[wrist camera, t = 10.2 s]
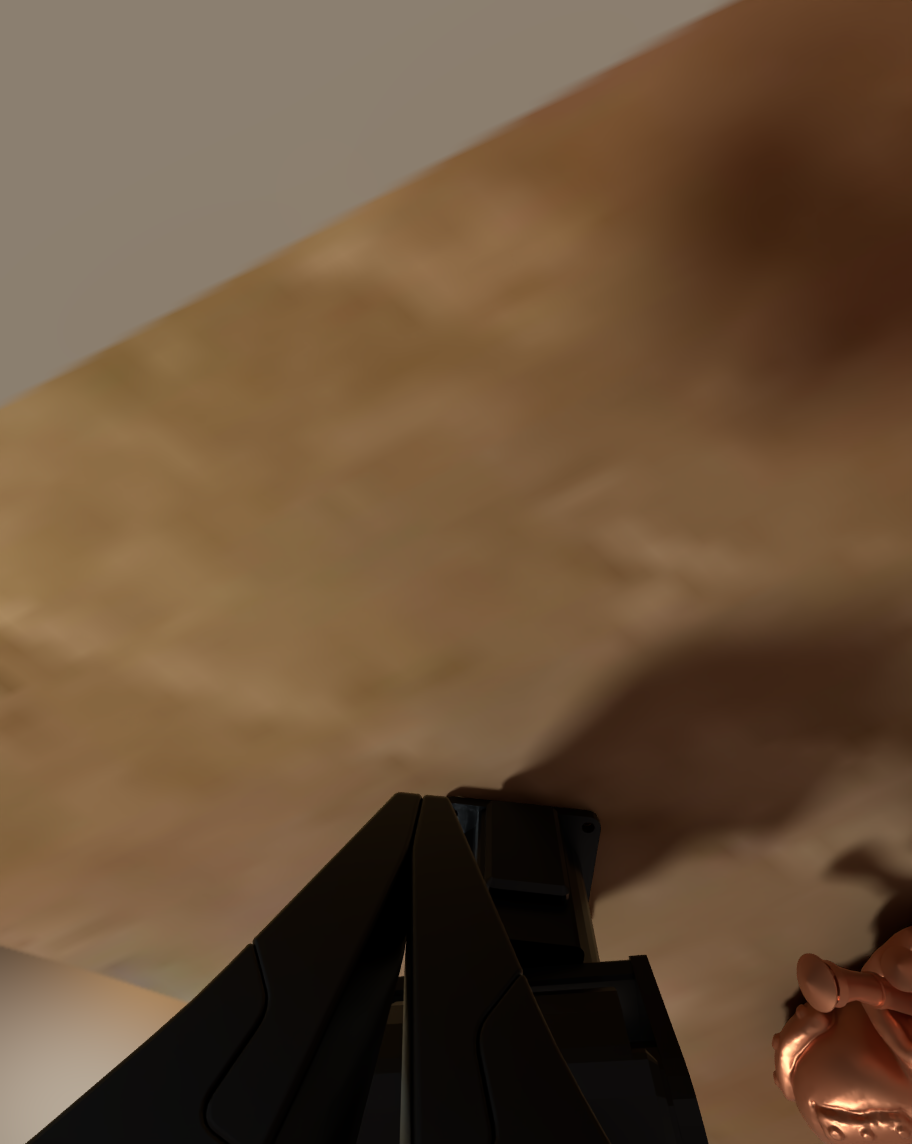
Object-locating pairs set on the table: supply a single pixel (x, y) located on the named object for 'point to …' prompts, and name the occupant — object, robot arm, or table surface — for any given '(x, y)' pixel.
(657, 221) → the table surface
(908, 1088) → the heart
